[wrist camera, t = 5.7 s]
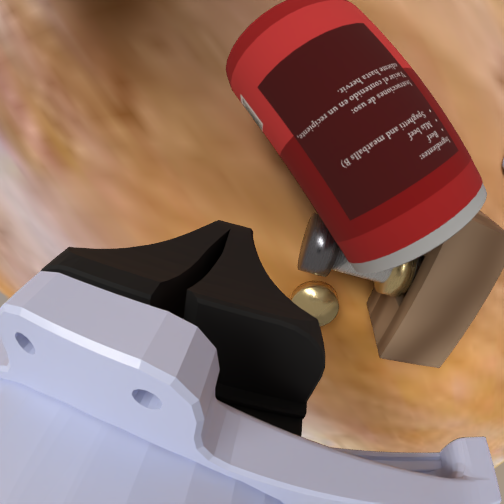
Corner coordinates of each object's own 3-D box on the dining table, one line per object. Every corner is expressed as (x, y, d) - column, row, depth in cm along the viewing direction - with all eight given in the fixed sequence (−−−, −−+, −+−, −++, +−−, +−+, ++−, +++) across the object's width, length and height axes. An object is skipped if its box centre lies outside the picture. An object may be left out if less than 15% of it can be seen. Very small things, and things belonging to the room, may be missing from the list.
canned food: (292, 80, 19) (390, 221, 19) (193, 98, 14) (323, 292, 14) (371, 2, 12) (493, 172, 13) (279, -28, 8) (478, 240, 8)
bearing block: (366, 303, 24) (379, 357, 18) (418, 182, 19) (456, 213, 14) (418, 315, 23) (439, 367, 18) (473, 205, 19) (516, 241, 14)
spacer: (344, 285, 24) (345, 294, 22) (328, 321, 25) (328, 331, 24) (298, 273, 24) (298, 282, 23) (285, 311, 25) (284, 320, 24)
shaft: (297, 253, 21) (296, 283, 18) (314, 203, 19) (316, 225, 16) (452, 296, 21) (469, 326, 18) (474, 256, 19) (495, 282, 16)
